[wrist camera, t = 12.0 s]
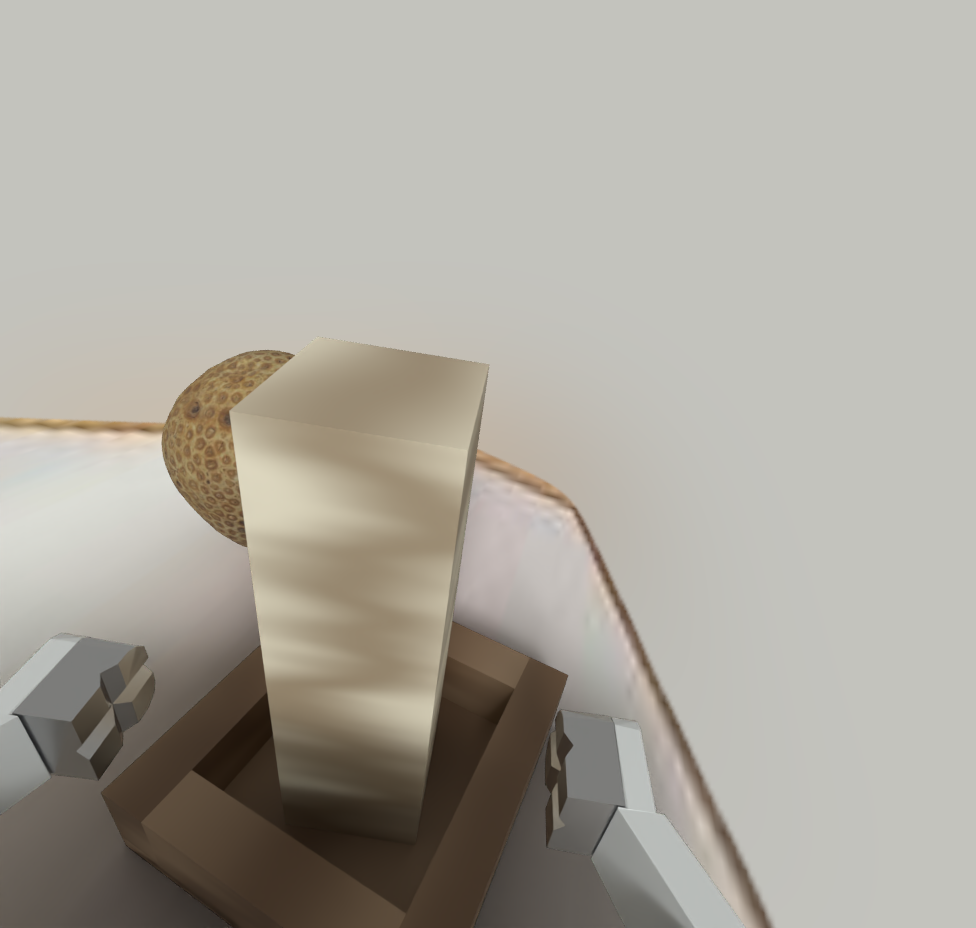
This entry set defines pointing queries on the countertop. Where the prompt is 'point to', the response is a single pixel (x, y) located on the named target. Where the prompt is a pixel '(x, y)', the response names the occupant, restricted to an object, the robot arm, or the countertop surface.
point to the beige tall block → (357, 569)
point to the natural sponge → (214, 438)
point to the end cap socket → (330, 855)
